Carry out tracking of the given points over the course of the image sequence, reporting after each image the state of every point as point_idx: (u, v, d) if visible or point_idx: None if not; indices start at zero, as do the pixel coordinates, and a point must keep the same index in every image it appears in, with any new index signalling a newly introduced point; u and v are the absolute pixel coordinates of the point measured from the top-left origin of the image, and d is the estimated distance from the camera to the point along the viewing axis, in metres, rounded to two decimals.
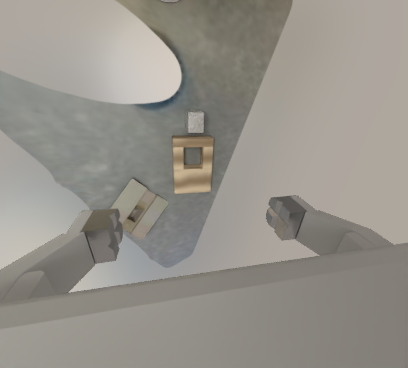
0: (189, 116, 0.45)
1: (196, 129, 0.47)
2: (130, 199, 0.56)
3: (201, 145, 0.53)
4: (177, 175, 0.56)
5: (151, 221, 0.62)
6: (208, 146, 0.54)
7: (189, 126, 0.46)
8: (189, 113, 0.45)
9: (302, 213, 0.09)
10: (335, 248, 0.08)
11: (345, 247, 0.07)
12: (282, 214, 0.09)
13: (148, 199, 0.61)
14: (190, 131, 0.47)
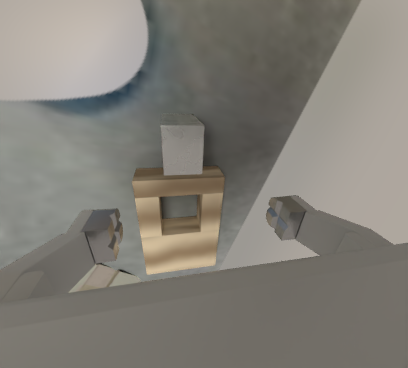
0: (164, 136, 0.17)
1: (185, 167, 0.18)
2: None
3: (198, 191, 0.25)
4: (149, 247, 0.28)
5: None
6: (213, 193, 0.25)
7: (165, 161, 0.18)
8: (164, 128, 0.16)
9: (302, 213, 0.09)
10: (335, 248, 0.08)
11: (345, 247, 0.07)
12: (282, 214, 0.09)
13: (100, 281, 0.33)
14: (169, 172, 0.18)
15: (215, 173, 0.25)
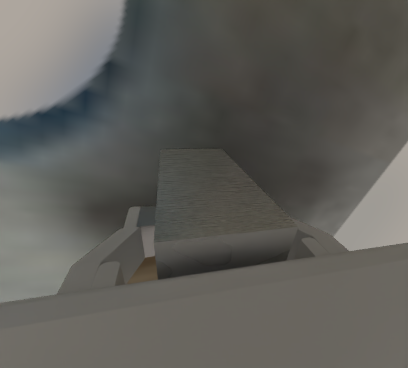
0: (167, 268, 0.05)
1: None
2: None
3: None
4: None
5: None
6: None
7: None
8: (165, 249, 0.05)
9: None
10: (296, 254, 0.08)
11: (301, 253, 0.07)
12: None
13: None
14: None
15: None
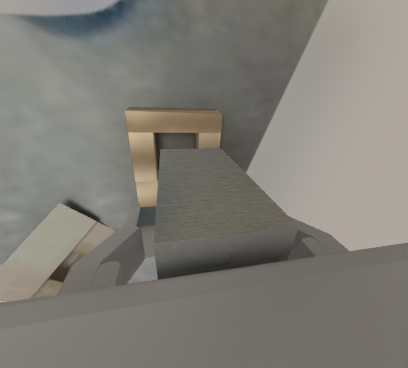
0: (167, 268, 0.05)
1: None
2: (54, 244, 0.28)
3: (194, 129, 0.24)
4: (144, 194, 0.27)
5: None
6: (210, 132, 0.24)
7: None
8: (166, 249, 0.05)
9: None
10: (296, 254, 0.08)
11: (301, 253, 0.07)
12: None
13: (98, 240, 0.33)
14: None
15: (213, 112, 0.24)
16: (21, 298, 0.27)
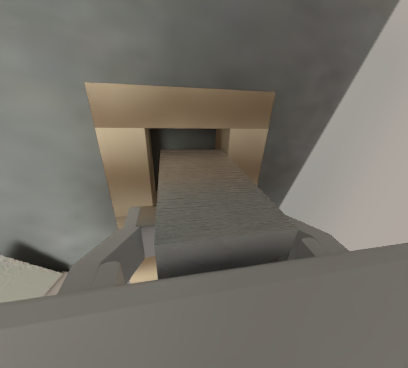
0: (167, 270, 0.05)
1: None
2: None
3: (223, 121, 0.13)
4: None
5: None
6: (250, 127, 0.13)
7: None
8: (166, 251, 0.05)
9: None
10: (296, 254, 0.08)
11: (300, 253, 0.07)
12: None
13: None
14: None
15: None
16: None
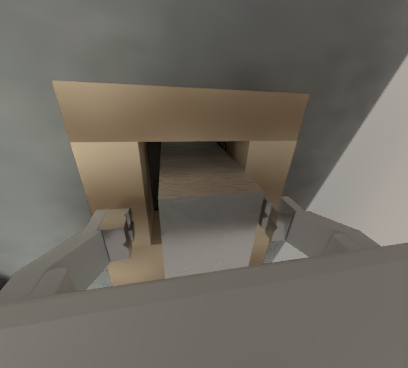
0: (167, 221, 0.07)
1: None
2: None
3: (240, 132, 0.10)
4: (124, 270, 0.13)
5: None
6: (275, 139, 0.10)
7: (170, 265, 0.08)
8: (166, 204, 0.06)
9: (291, 214, 0.09)
10: (324, 250, 0.08)
11: (333, 249, 0.07)
12: (271, 215, 0.09)
13: None
14: None
15: None
16: None
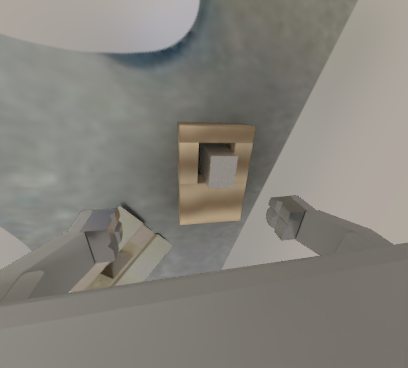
0: (212, 163, 0.25)
1: (223, 183, 0.27)
2: None
3: (232, 139, 0.29)
4: (185, 194, 0.31)
5: (140, 277, 0.37)
6: (244, 142, 0.29)
7: (211, 178, 0.26)
8: (212, 158, 0.25)
9: (302, 213, 0.09)
10: (335, 248, 0.08)
11: (345, 247, 0.07)
12: (282, 214, 0.09)
13: (141, 240, 0.37)
14: (212, 186, 0.27)
15: (246, 126, 0.29)
16: (79, 288, 0.30)
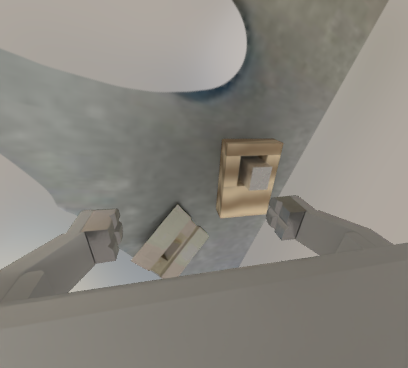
0: (253, 172, 0.34)
1: (259, 186, 0.36)
2: (169, 231, 0.41)
3: (265, 153, 0.37)
4: (227, 194, 0.40)
5: (186, 260, 0.47)
6: (274, 154, 0.38)
7: (251, 183, 0.35)
8: (254, 168, 0.34)
9: (302, 213, 0.09)
10: (335, 248, 0.08)
11: (345, 247, 0.07)
12: (282, 214, 0.09)
13: (187, 231, 0.46)
14: (251, 189, 0.36)
15: (275, 141, 0.38)
16: (148, 266, 0.40)
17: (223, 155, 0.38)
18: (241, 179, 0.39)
